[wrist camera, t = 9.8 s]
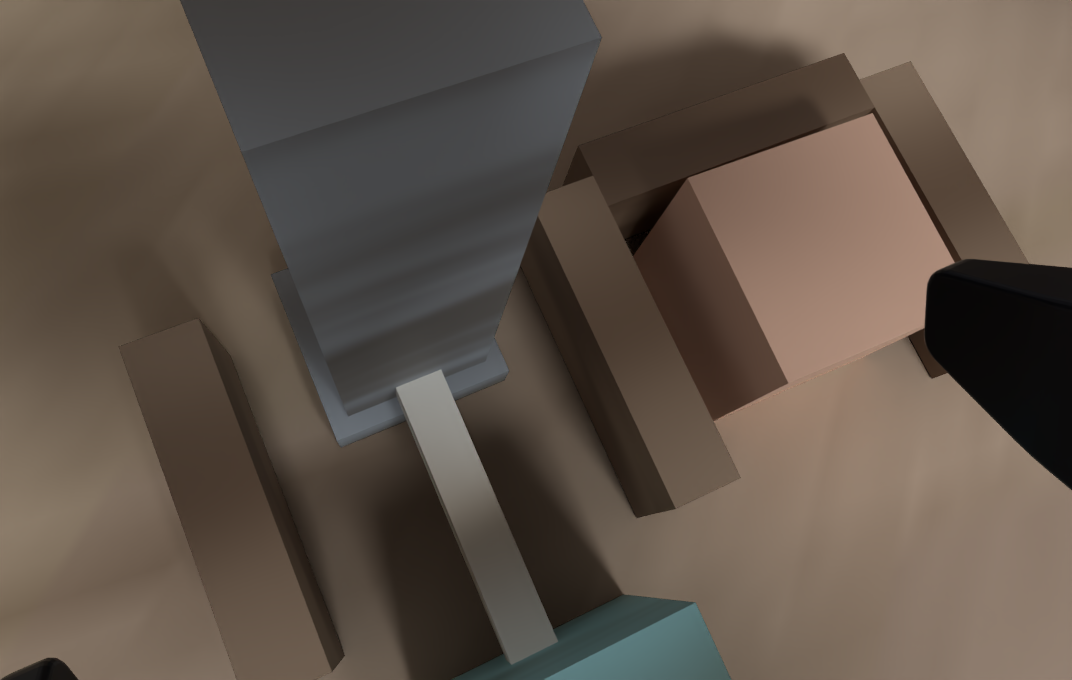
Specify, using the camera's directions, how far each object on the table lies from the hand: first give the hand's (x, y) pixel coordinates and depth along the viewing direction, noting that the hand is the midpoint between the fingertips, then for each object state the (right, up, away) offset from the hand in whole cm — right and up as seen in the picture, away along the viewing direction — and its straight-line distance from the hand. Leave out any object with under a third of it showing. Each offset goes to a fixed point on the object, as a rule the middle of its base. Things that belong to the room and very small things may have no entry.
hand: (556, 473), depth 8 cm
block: (+5, +2, +13) cm, 14 cm away
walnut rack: (+1, +1, +12) cm, 12 cm away
